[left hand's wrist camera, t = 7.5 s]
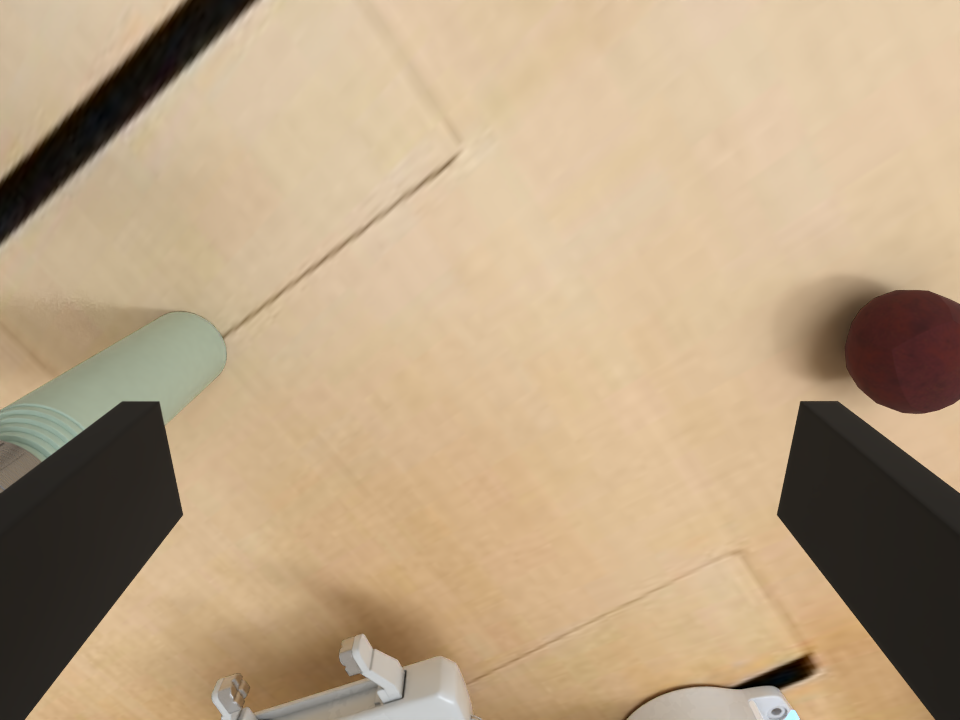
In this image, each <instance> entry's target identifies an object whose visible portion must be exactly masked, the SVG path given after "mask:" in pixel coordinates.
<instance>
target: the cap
mask: <svg viewBox="0 0 960 720" xmlns="http://www.w3.org/2000/svg"><path fill="white" fill-rule="evenodd" d="M40 463H41V461H40V460H39V459H38V458H37V457H36V456H34V455H33V454H32V453H30V452H29V451H27V450H26V449H24V448H22V447H20V446H18V445H15V444H13V443H10V442H6V441H3V440H0V493H1V492H3V491H4V490H5V489H7V488H8V487H9V486H11V485H12V484H13V483H15V482H16V481H17V480H19V479H20V478H21V477H23V476H24V475H25V474H27V473H28V472H29V471H30V470H32V469H33V468H34V467H36V466H37V465H38V464H40Z"/></svg>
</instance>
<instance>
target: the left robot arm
mask: <svg viewBox="0 0 960 720" xmlns="http://www.w3.org/2000/svg"><path fill="white" fill-rule="evenodd" d="M182 516H183V512H182V507H181V503H180V498H179V493H178V488H177V483H176V478H175V474H174V469H173V464H172V459H171V454H170V449H169V445H168V440H167V435H166V430H165V425H164V421H163V416H162V411H161V406H160V401H122V402H120V403H119V404H118V405H117V406H115V407H114V408H113V409H111V410H110V411H109V412H107V413H106V414H105V415H103V416H102V417H101V418H99V419H98V420H97V421H95V422H94V423H93V424H91V425H90V426H89V427H87V428H86V429H85V430H83V431H82V432H81V433H79V434H78V435H77V436H75V437H74V438H73V439H72V440H70V441H69V442H68V443H66V444H65V445H64V446H62V447H61V448H60V449H58V450H57V451H56V452H54V453H53V454H52V455H50V456H49V457H48V458H46V459H45V460H44V461H42V462H41V463H40V464H38V465H37V466H36V467H34V468H33V469H32V470H30V471H29V472H28V473H27V474H25V475H24V476H23V477H21V478H20V479H19V480H17V481H16V482H15V483H13V484H12V485H11V486H9V487H8V488H7V489H5V490H4V491H3V492H1V493H0V720H25V719H26V717H27V716H28V715H29V713H30V712H31V711H32V710H33V708H34V707H35V706H36V704H37V703H38V702H39V701H40V699H41V698H42V697H43V695H44V694H45V693H46V691H47V690H48V689H49V688H50V686H51V685H52V684H53V682H54V681H55V680H56V679H57V677H58V676H59V675H60V673H61V672H62V671H63V669H64V668H65V667H66V666H67V664H68V663H69V662H70V660H71V659H72V658H73V657H74V655H75V654H76V653H77V651H78V650H79V649H80V647H81V646H82V645H83V644H84V642H85V641H86V640H87V638H88V637H89V636H90V635H91V633H92V632H93V631H94V629H95V628H96V627H97V625H98V624H99V623H100V622H101V620H102V619H103V618H104V616H105V615H106V614H107V613H108V611H109V610H110V609H111V607H112V606H113V605H114V604H115V602H116V601H117V600H118V598H119V597H120V596H121V594H122V593H123V592H124V591H125V589H126V588H127V587H128V585H129V584H130V583H131V582H132V580H133V579H134V578H135V576H136V575H137V574H138V572H139V571H140V570H141V569H142V567H143V566H144V565H145V563H146V562H147V561H148V560H149V558H150V557H151V556H152V554H153V553H154V552H155V550H156V549H157V548H158V547H159V545H160V544H161V543H162V541H163V540H164V539H165V538H166V536H167V535H168V534H169V532H170V531H171V530H172V528H173V527H174V526H175V525H176V523H177V522H178V521H179V519H180V518H181V517H182ZM777 516H778V517H779V518H780V519H781V521H782V522H783V523H784V525H785V526H786V527H787V528H788V530H789V531H790V532H791V534H792V535H793V536H794V538H795V539H796V540H797V541H798V543H799V544H800V545H801V547H802V548H803V549H804V550H805V552H806V553H807V554H808V556H809V557H810V558H811V560H812V561H813V562H814V563H815V565H816V566H817V567H818V569H819V570H820V571H821V572H822V574H823V575H824V576H825V578H826V579H827V580H828V582H829V583H830V584H831V585H832V587H833V588H834V589H835V591H836V592H837V593H838V594H839V596H840V597H841V598H842V600H843V601H844V602H845V604H846V605H847V606H848V607H849V609H850V610H851V611H852V613H853V614H854V615H855V616H856V618H857V619H858V620H859V622H860V623H861V624H862V625H863V627H864V628H865V629H866V631H867V632H868V633H869V635H870V636H871V637H872V638H873V640H874V641H875V642H876V644H877V645H878V646H879V647H880V649H881V650H882V651H883V653H884V654H885V655H886V657H887V658H888V659H889V660H890V662H891V663H892V664H893V666H894V667H895V668H896V669H897V671H898V672H899V673H900V675H901V676H902V677H903V679H904V680H905V681H906V682H907V684H908V685H909V686H910V688H911V689H912V690H913V691H914V693H915V694H916V695H917V697H918V698H919V699H920V701H921V702H922V703H923V704H924V706H925V707H926V708H927V710H928V711H929V712H930V713H931V715H932V716H933V717H934V719H935V720H960V493H959V492H957V491H956V490H955V489H953V488H952V487H951V486H949V485H948V484H947V483H945V482H944V481H943V480H941V479H940V478H939V477H937V476H936V475H935V474H933V473H932V472H931V471H930V470H928V469H927V468H926V467H924V466H923V465H922V464H920V463H919V462H918V461H916V460H915V459H914V458H912V457H911V456H910V455H908V454H907V453H906V452H904V451H903V450H902V449H900V448H899V447H898V446H896V445H895V444H894V443H892V442H891V441H890V440H888V439H887V438H886V437H885V436H883V435H882V434H881V433H879V432H878V431H877V430H875V429H874V428H873V427H871V426H870V425H869V424H867V423H866V422H865V421H863V420H862V419H861V418H859V417H858V416H857V415H855V414H854V413H853V412H851V411H850V410H849V409H847V408H846V407H845V406H843V405H842V404H841V403H840V402H838V401H800V406H799V411H798V416H797V420H796V425H795V430H794V435H793V440H792V445H791V449H790V454H789V459H788V464H787V469H786V474H785V478H784V483H783V488H782V493H781V498H780V503H779V507H778V512H777Z"/></svg>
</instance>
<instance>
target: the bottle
mask: <svg viewBox="0 0 960 720" xmlns="http://www.w3.org/2000/svg"><path fill="white" fill-rule="evenodd" d="M226 355H227V353H226V346H225V343H224V340H223V338H222V336H221V334H220V333H219V331H218V330H217V329H216V328H215V327H214V326H213V325H212V324H211V323H210V322H209V321H207V320H206V319H204V318H202V317H201V316H198V315H196V314H193V313H189V312H171V313H168V314H165V315H163V316H161V317H159V318H158V319H156V320H154V321H153V322H151V323H149V324H147V325H146V326H144V327H142V328H141V329H139V330H137V331H135V332H134V333H132V334H130V335H128V336H127V337H125V338H123V339H122V340H120V341H118V342H116V343H115V344H113V345H111V346H110V347H108V348H106V349H104V350H103V351H101V352H99V353H98V354H96V355H94V356H92V357H91V358H89V359H87V360H86V361H84V362H82V363H80V364H79V365H77V366H75V367H74V368H72V369H70V370H68V371H67V372H65V373H63V374H62V375H60V376H58V377H56V378H55V379H53V380H51V381H49V382H48V383H46V384H44V385H43V386H41V387H39V388H37V389H36V390H34V391H32V392H31V393H29V394H27V395H25V396H24V397H22V398H20V399H19V400H17V401H15V402H13V403H12V404H10V405H8V406H7V407H5V408H3V409H1V410H0V440H3V441H6V442H10V443H13V444H15V445H18V446H20V447H22V448H24V449H26V450H27V451H29V452H30V453H32V454H33V455H34V456H36V457H37V458H38V459H39V460H40V461H41V462H42V461H44V460H45V459H46V458H48V457H49V456H50V455H52V454H53V453H54V452H56V451H57V450H58V449H60V448H61V447H62V446H64V445H65V444H66V443H68V442H69V441H70V440H72V439H73V438H74V437H75V436H77V435H78V434H79V433H81V432H82V431H83V430H85V429H86V428H87V427H89V426H90V425H91V424H93V423H94V422H95V421H97V420H98V419H99V418H101V417H102V416H103V415H105V414H106V413H107V412H109V411H110V410H111V409H113V408H114V407H115V406H117V405H118V404H119V403H120V402H122V401H160V406H161V411H162V416H163V421H164V425H166V424H167V423H168V422H169V421H170V420H172V419H173V418H174V417H175V416H176V415H177V414H178V413H179V412H180V411H181V410H182V409H183V408H184V407H185V406H187V405H188V404H189V403H190V402H191V401H192V400H193V399H194V398H195V397H196V396H197V395H198V394H199V393H200V392H201V391H203V390H204V389H205V388H206V387H207V386H208V385H209V384H210V383H211V382H212V381H213V380H214V379H215V378H216V377H217V376H218V375H219V374H220V373H221V372H222V370H223V368H224V366H225V363H226Z"/></svg>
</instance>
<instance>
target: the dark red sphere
mask: <svg viewBox="0 0 960 720" xmlns="http://www.w3.org/2000/svg"><path fill="white" fill-rule="evenodd" d="M845 356H846V367H847V369H848V371H849V374H850V375H851V377H852V378H853V380H854V381H855V383H856V385H857V386H858V387H859V388H860V389H861V390H862V391H863V392H864V393H865V394H866V395H867V396H869V397H870V398H871V399H872V400H873V401H875V402H876V403H877V404H880V405H883V406H885V407H888V408H891V409H894V410H896V411H899V412H902V413H912V414H922V413H928V412H933V411H937V410H940V409H943V408H945V407H947V406H950V405H952V404H954V403H955V402H957V401H958V400H959V399H960V304H959V303H957V302H955V301H952V300H950V299H948V298H945V297H943V296H940V295H938V294H935V293H933V292H930V291H923V290H895V291H893V292H890V293H887V294H884V295H881V296H878V297H876V298H874V299H873V300H871V301H870V302H869V303H868V304H866V305H865V306H864V307H863V308H862V309H860V311H859V312H858V314H857V315H856V317H855V319H854V320H853V322H852V324H851V327H850V331H849V334H848V338H847V341H846V345H845Z"/></svg>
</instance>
